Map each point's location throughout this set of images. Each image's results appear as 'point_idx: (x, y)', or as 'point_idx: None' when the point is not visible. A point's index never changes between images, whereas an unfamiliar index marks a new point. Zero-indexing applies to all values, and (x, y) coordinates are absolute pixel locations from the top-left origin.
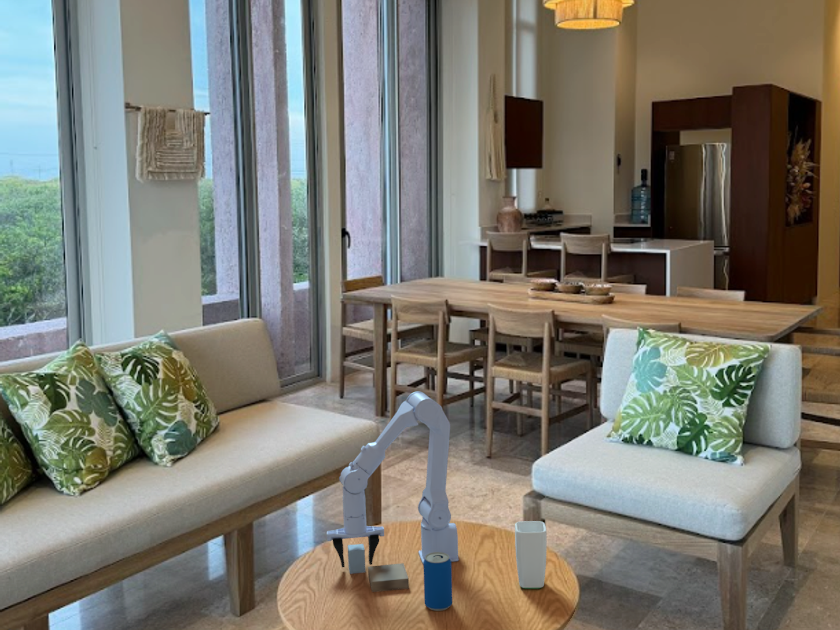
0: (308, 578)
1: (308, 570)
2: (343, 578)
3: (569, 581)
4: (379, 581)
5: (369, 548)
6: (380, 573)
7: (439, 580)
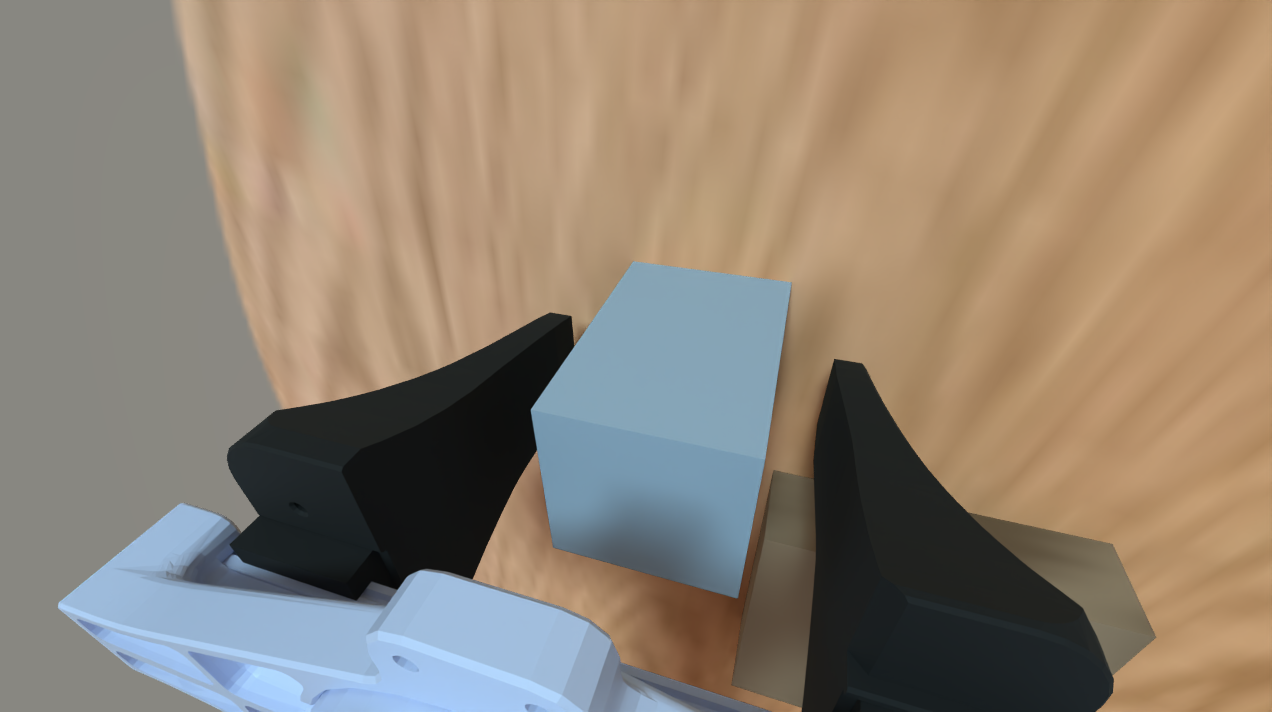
0: (354, 339)
1: (309, 209)
2: None
3: None
4: (784, 699)
5: (828, 546)
6: None
7: None
